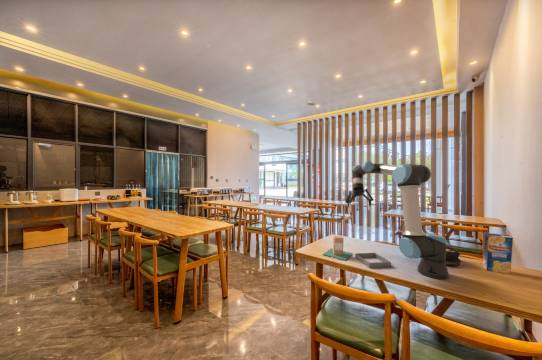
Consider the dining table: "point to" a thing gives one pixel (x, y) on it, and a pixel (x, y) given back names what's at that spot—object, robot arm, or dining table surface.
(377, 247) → the dining table surface
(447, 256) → the casserole
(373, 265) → the bin
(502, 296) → the dining table surface
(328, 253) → the mat
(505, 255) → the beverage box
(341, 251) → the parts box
